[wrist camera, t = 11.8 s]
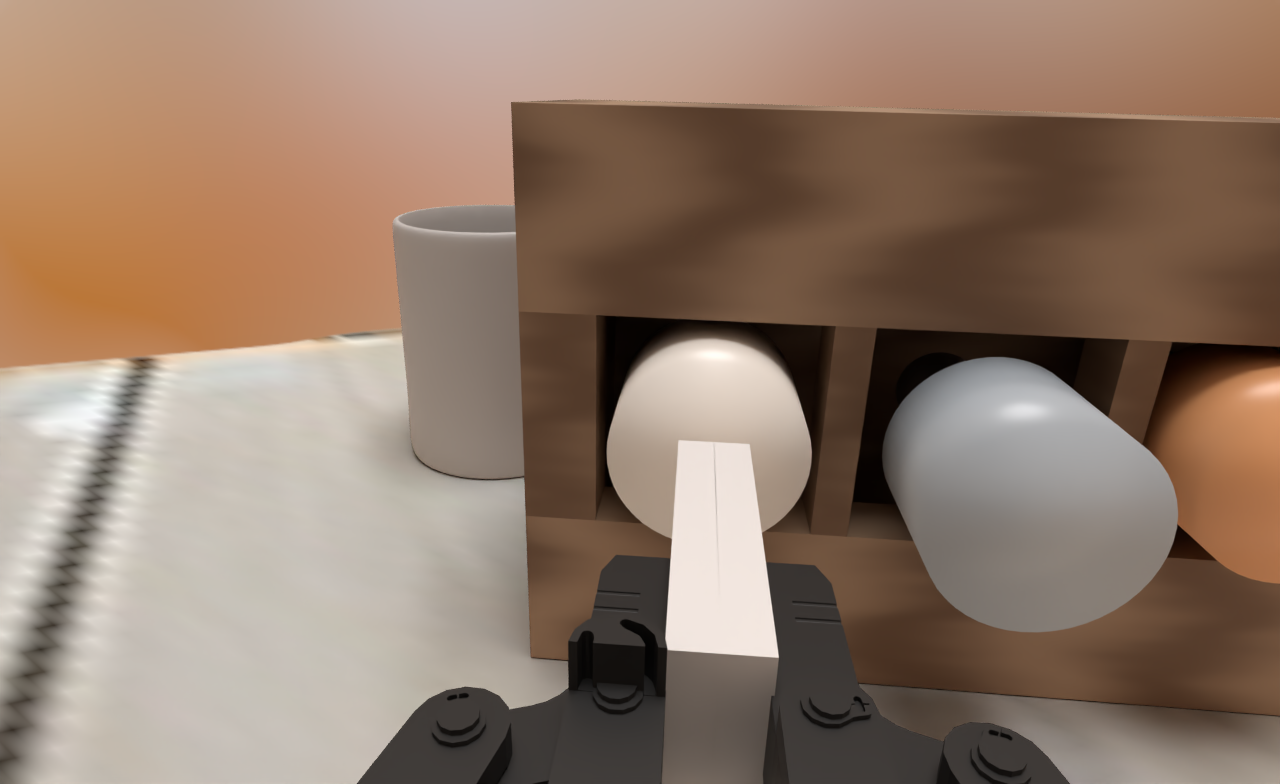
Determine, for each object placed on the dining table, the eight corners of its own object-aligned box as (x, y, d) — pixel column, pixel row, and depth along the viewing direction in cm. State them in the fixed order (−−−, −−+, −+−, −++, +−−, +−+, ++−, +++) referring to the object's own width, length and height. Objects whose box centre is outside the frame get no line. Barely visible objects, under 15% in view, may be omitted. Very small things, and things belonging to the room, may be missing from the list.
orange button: (1170, 576, 19) (1232, 387, 17) (1035, 436, 26) (1068, 295, 25) (1386, 590, 18) (1473, 399, 17) (1186, 444, 26) (1231, 302, 24)
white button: (606, 538, 20) (607, 355, 18) (634, 413, 27) (637, 277, 26) (800, 551, 19) (822, 366, 18) (774, 421, 27) (788, 283, 25)
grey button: (905, 623, 17) (944, 415, 15) (843, 457, 25) (864, 306, 23) (1141, 640, 16) (1209, 429, 15) (1003, 466, 24) (1037, 314, 22)
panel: (531, 657, 24) (511, 101, 18) (581, 497, 33) (579, 99, 27) (1356, 721, 22) (1637, 132, 16) (1163, 534, 31) (1295, 118, 25)
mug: (578, 484, 34) (576, 236, 30) (387, 478, 34) (360, 231, 30) (596, 387, 45) (597, 197, 41) (453, 383, 45) (439, 193, 41)
